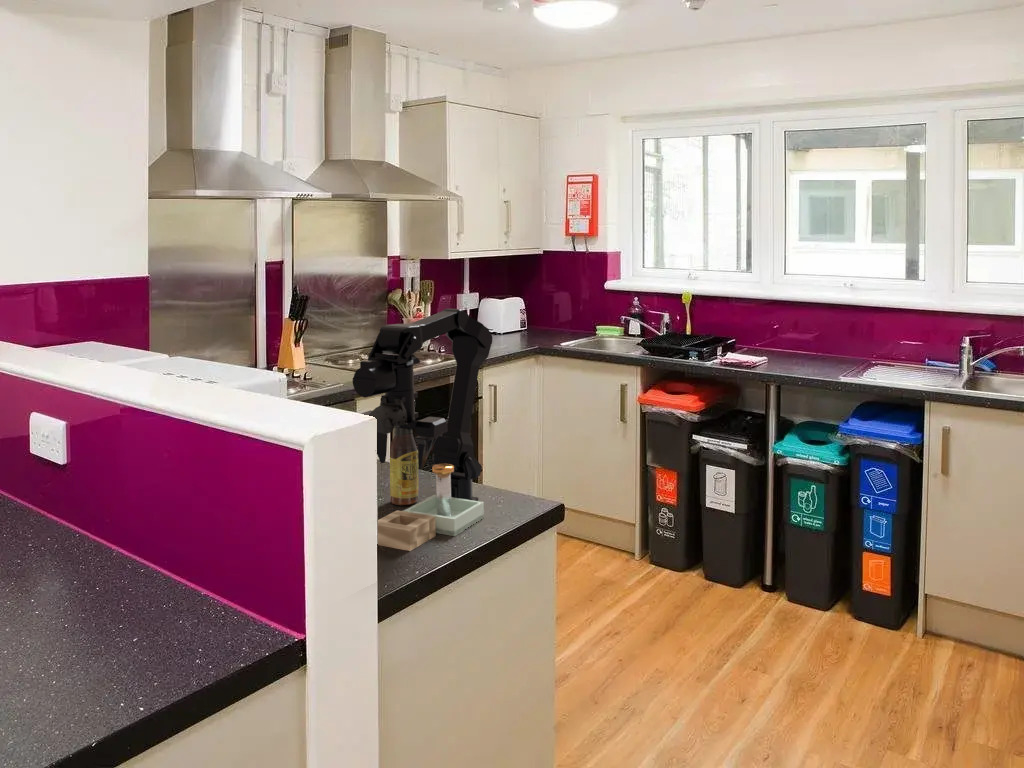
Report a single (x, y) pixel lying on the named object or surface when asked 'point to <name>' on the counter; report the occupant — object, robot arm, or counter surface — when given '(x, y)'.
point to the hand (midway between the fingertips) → (401, 465)
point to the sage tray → (461, 518)
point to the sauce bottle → (403, 468)
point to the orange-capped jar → (443, 488)
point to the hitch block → (405, 530)
